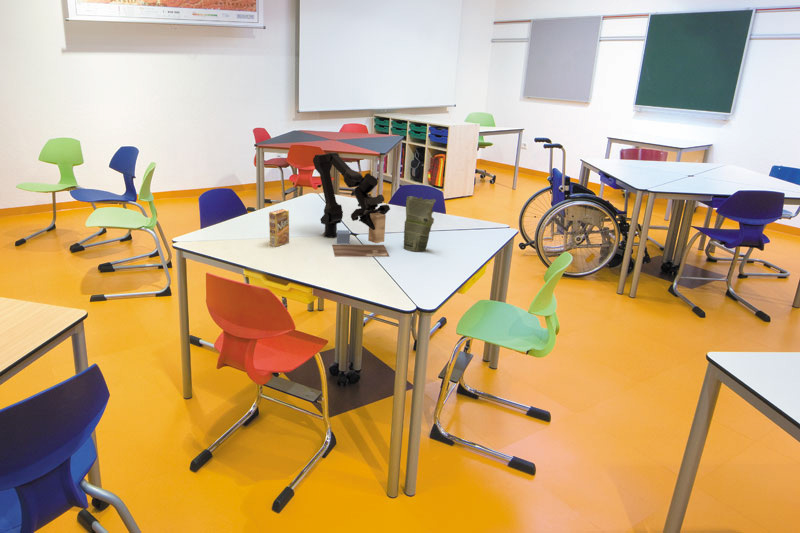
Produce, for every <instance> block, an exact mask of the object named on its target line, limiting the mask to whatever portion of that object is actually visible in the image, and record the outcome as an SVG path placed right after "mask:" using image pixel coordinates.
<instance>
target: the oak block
mask: <svg viewBox="0 0 800 533" xmlns="http://www.w3.org/2000/svg"><path fill="white" fill-rule="evenodd" d="M386 215H387V214H385V215H384V214H381V213H373V214H370V218H371V220H372V222H373V224H374V227H375V230H372V229H371V228H370V227H368V242H371V243H373V244H379V243H384V242H385V236H386V235H385V233H386V218H387V216H386Z"/></svg>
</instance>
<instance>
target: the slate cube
mask: <svg viewBox="0 0 800 533" xmlns="http://www.w3.org/2000/svg"><path fill="white" fill-rule="evenodd" d="M350 240H351V232H350V230H346V229H344V230H343V229H340V230H339V229H337V237H336V243H337V245H351V244H350V242H351V241H350Z"/></svg>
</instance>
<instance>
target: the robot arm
mask: <svg viewBox="0 0 800 533" xmlns="http://www.w3.org/2000/svg"><path fill="white" fill-rule="evenodd" d="M312 163H313V166H314V168H315V170H316V172H318V173H319V177H320V182H321V185H322V192H323V196H324V201H325V206H324V209H323V215H322V217H320V219H319V220H320V223H321V224H323V225H324V232H323V236H324V238H337V230H338V224H341V223H342V220H343V217H344V214H343V213H344V211H343V207H342V204H339V203H338V202H337V200H336V193H335V188H334V183H333V179H332V175H331V171H332V167H333V168H335V170H337V172H338V173H339V174H340V175H341V176H342V177H343V182H344V183H345V185H346V187H348V188H350V189H351V188H354V189H352V190H351V192H350V197H355V199H356V200H357V203H358V204H357V207H358V208H356V209H354V210H353V211H352V213H351V214H350V218H351V221H353V222H355V221H359V222H361V223H363V224H364V225H366V226H367V227H368V228H369V227H370V228H371V229H372V230H375V227H374V224H373V222H372V220H371V218H370V214H373V213H381V214H384V215H387V213H388V212H389V211H390V210H391V207H390V205H389V204H383V202H385V197H384V195H383V194H378V195H376V196H370V193H371V192H373V191H374V189H376V187H377V185H379V182H378V181H379V180H378V179H377V178H376V177H375V176H374V175H371V173H370V172H369V173H365V174H364V176H363V175H362V174H361V173H360V172H358V171H356V170H354V169H352V168H351V167H350V166H349V165H348V164H347V163H346V162H345V160H343V159H342V157H340V155H339V153H338V152H327V153H324V154H315V155H314V156H313V159H312Z"/></svg>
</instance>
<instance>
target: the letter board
mask: <svg viewBox="0 0 800 533" xmlns="http://www.w3.org/2000/svg"><path fill="white" fill-rule="evenodd" d="M331 246H332V250H333V254H334V257H335V258H336V257H337V258H339V257H345V258H346V257H348V258H350V257H352V258H353V257H354V258H356V257H359V258H360V257H363V258H365V257H366V258H368V257H370V258H371V257H372V258H373V257H378V258H380V257H383V258H385V257H388V258H389V257H390V256H391V255H390V254H389V252H388V250H387V248H386V246H385V245H384V244H331Z"/></svg>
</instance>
